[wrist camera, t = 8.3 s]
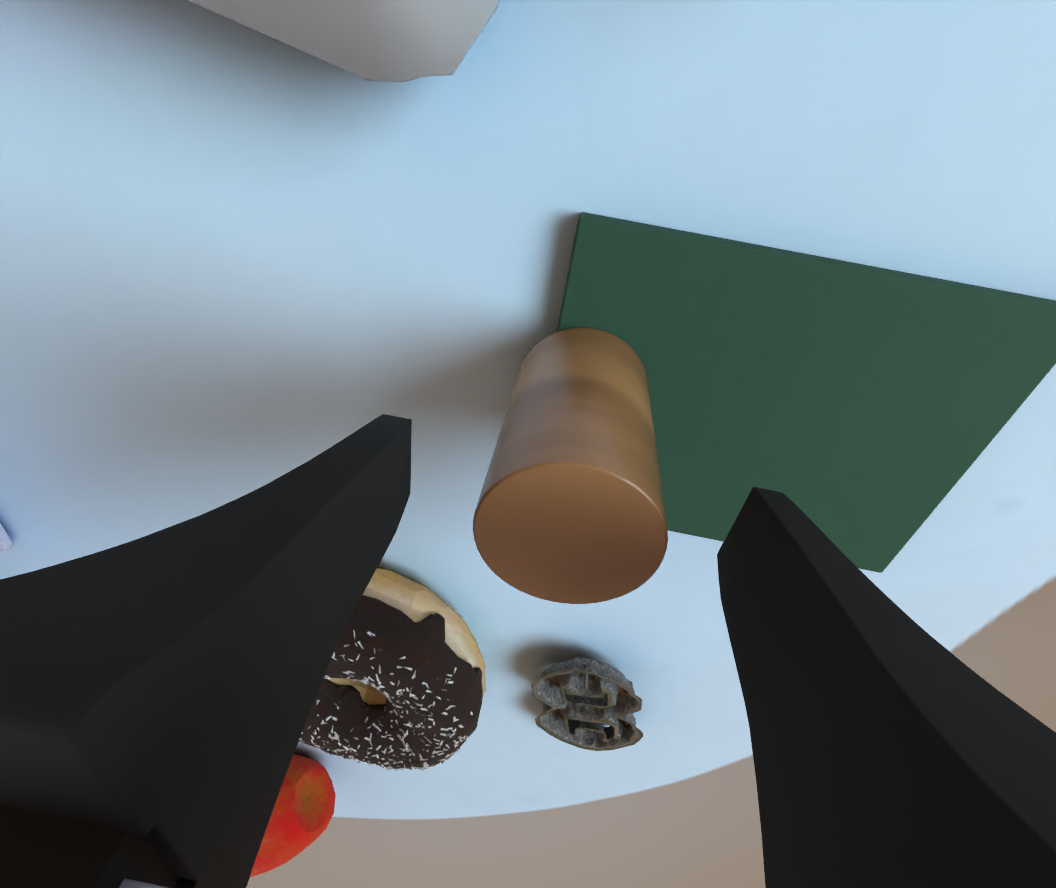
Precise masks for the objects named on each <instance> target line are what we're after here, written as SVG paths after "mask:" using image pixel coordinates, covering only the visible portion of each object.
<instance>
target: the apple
mask: <svg viewBox="0 0 1056 888" xmlns="http://www.w3.org/2000/svg"><path fill="white" fill-rule="evenodd" d="M334 805H335V792H334V788H333V784H332V780H331V778H330V777H329V775H328V773H327V771H326V769H325V768H324V767H323V766H322V765H321V764H320V763H319V762H318V761H315V760H312V759H309V758H306V757H303V756H300V755H298V754H293V757H292V760H291V762H290V765H289V768H288V770H287V773H286V776H285V778H284V781H283V784H282V787H281V789H280V792H279V795H278V797H277V800H276V803H275V806H274V809H273V811H272V814H271V817H270V820H269V823H268V826H267V829H266V831H265V834H264V837H263V840H262V843H261V846H260V848H259V851H258V854H257V857H256V860H255V863H254V866H253V869H252V872H251V875H250V877H252V876H255V875H258V874H261V873H264V872H267V871H269V870H272V869H274V868H276V867H278V866H280V865H282V864H284V863H286V862H287V861H289V860H290V859H292V858H293V857H295V856H296V855H297V854H298V853H300V852H302V851H303V850H304V849H305V848H306V847H307V846H309V845H310V844H311V843H312V842H313V841H315V840H316V839H317V838H318V837H319V836H320V834H321V833H322V832H323V831H324V830H325V829H326V828H327V826H328V824H329V821H330V819H331V817H332V815H333V813H334Z"/></svg>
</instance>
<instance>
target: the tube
mask: <svg viewBox="0 0 1056 888" xmlns="http://www.w3.org/2000/svg"><path fill="white" fill-rule="evenodd" d="M188 1H190V2H193V3H195V4H197V5H199V6H202V7H204V8H206V9H208V10H211V11H213V12H215V13H217V14H220V15H222V16H224V17H226V18H229V19H231V20H233V21H235V22H238V23H240V24H242V25H244V26H247V27H249V28H251V29H254V30H256V31H258V32H260V33H263V34H265V35H267V36H269V37H272V38H274V39H276V40H278V41H281V42H283V43H285V44H287V45H290V46H292V47H294V48H296V49H299V50H301V51H303V52H305V53H308V54H310V55H312V56H314V57H317V58H319V59H321V60H323V61H326V62H328V63H330V64H332V65H335V66H337V67H339V68H341V69H344V70H346V71H348V72H350V73H353V74H355V75H357V76H359V77H362V78H364V79H366V80H369V81H394V82H405V81H409V80H412V79H416V78H419V77H427V76H441V75H453V73H454V72H455V70H456V69H457V67H458V66H459V64H460V63H461V61H462V60H463V58H464V57H465V55H466V54H467V52H468V51H469V49H470V48H471V46H472V45H473V43H474V42H475V40H476V39H477V37H478V36H479V34H480V33H481V32H482V30H483V29H484V27H485V26H486V24H487V23H488V21H489V20H490V18H491V17H492V15H493V14H494V12H495V11H496V9H497V7H498V4H499V2H500V0H188Z"/></svg>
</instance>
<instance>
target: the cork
mask: <svg viewBox="0 0 1056 888" xmlns="http://www.w3.org/2000/svg"><path fill="white" fill-rule="evenodd" d="M473 533H474V539H475V543H476V546H477V549H478V551H479V553H480V555H481V557H482V558H483V560H484V561H485V563H486V564H487V565H488V566H489V567H490V569H491V570H492V571H493V572H494V573H495V574H496V575H497V576H499V577H500V578H501V579H502V580H504V581H505V582H506V583H508V584H509V585H511V586H513V587H514V588H516V589H518V590H520V591H522V592H524V593H527V594H529V595H532V596H534V597H537V598H540V599H544V600H548V601H553V602H560V603H570V604H587V603H597V602H602V601H607V600H611V599H614V598H618V597H620V596H623V595H625V594H627V593H629V592H631V591H633V590H635V589H637V588H638V587H639V586H641V585H642V584H644V583H645V582H646V581H647V580H648V579H649V578H650V577H651V576H652V575H653V574H654V573H655V572H656V570H657V569H658V568H659V566H660V564H661V562H662V560H663V558H664V555H665V552H666V549H667V542H668V533H667V524H666V517H665V509H664V502H663V494H662V487H661V479H660V472H659V464H658V457H657V449H656V442H655V435H654V427H653V420H652V412H651V405H650V397H649V390H648V382H647V376H646V372H645V369H644V366H643V363H642V362H641V360H640V358H639V356H638V355H637V354H636V352H635V351H634V350H633V349H632V348H631V347H630V346H629V345H628V344H627V343H626V342H624V341H623V340H622V339H620V338H618V337H617V336H615V335H613V334H611V333H608V332H606V331H602V330H598V329H593V328H571V329H566V330H562V331H559V332H556V333H553V334H551V335H549V336H548V337H546V338H544V339H543V340H541V341H540V342H539V343H537V344H536V345H535V346H534V347H533V348H532V349H531V350H530V352H529V353H528V354H527V356H526V357H525V359H524V361H523V363H522V365H521V368H520V371H519V374H518V377H517V380H516V384H515V387H514V390H513V393H512V396H511V399H510V402H509V406H508V409H507V412H506V415H505V418H504V421H503V425H502V428H501V431H500V434H499V437H498V440H497V444H496V447H495V450H494V453H493V456H492V459H491V462H490V466H489V469H488V472H487V475H486V478H485V481H484V485H483V488H482V491H481V494H480V497H479V500H478V504H477V507H476V510H475V514H474V519H473Z"/></svg>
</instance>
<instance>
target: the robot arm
mask: <svg viewBox="0 0 1056 888" xmlns="http://www.w3.org/2000/svg"><path fill="white" fill-rule="evenodd" d="M411 424H412V420H411V419H406V418H401V417H395V416H390V415H385V414H383V415H381V416H379V417H378V418H376V419H374V420H373V421H371V422H370V423H368V424H367V425H365V426H363V427H362V428H360V429H359V430H357V431H356V432H354V433H353V434H351V435H350V436H348V437H346V438H345V439H343V440H342V441H340V442H339V443H337V444H335V445H334V446H332V447H331V448H329V449H327V450H326V451H324V452H323V453H321V454H319V455H318V456H316V457H314V458H313V459H311V460H310V461H308V462H306V463H304V464H302V465H301V466H299V467H297V468H295V469H293V470H292V471H290V472H288V473H286V474H284V475H283V476H281V477H279V478H277V479H275V480H274V481H272V482H270V483H268V484H266V485H265V486H263V487H261V488H259V489H257V490H255V491H253V492H251V493H249V494H247V495H244V496H242V497H240V498H238V499H236V500H234V501H232V502H229V503H227V504H225V505H223V506H220V507H218V508H216V509H214V510H212V511H209V512H207V513H205V514H202V515H200V516H197V517H195V518H192V519H190V520H187V521H184V522H182V523H179V524H176V525H174V526H171V527H168V528H166V529H163V530H161V531H158V532H155V533H153V534H150V535H147V536H145V537H142V538H140V539H137V540H134V541H131V542H128V543H125V544H122V545H119V546H116V547H113V548H110V549H107V550H104V551H100V552H97V553H94V554H91V555H87V556H84V557H81V558H78V559H74V560H71V561H68V562H64V563H61V564H58V565H54V566H50V567H47V568H43V569H40V570H36V571H33V572H29V573H25V574H21V575H17V576H13V577H9V578H5V579H1V580H0V888H246V886H247V883H248V880H249V878H250V875H251V872H252V869H253V866H254V863H255V860H256V857H257V854H258V851H259V848H260V846H261V843H262V840H263V837H264V834H265V831H266V829H267V826H268V823H269V820H270V817H271V814H272V811H273V809H274V806H275V803H276V800H277V797H278V795H279V792H280V789H281V787H282V784H283V781H284V778H285V776H286V773H287V770H288V768H289V765H290V762H291V760H292V757H293V754H294V752H295V749H296V746H297V744H298V741H299V738H300V736H301V733H302V731H303V728H304V726H305V723H306V720H307V718H308V715H309V713H310V710H311V708H312V705H313V703H314V700H315V698H316V695H317V693H318V690H319V687H320V685H321V683H322V680H323V678H324V675H325V673H326V671H327V668H328V666H329V663H330V661H331V658H332V656H333V654H334V651H335V649H336V646H337V644H338V642H339V640H340V638H341V635H342V633H343V631H344V629H345V627H346V625H347V623H348V621H349V619H350V617H351V615H352V614H353V612H354V610H355V608H356V606H357V604H358V602H359V601H360V599H361V597H362V595H363V593H364V591H365V589H366V587H367V586H368V584H369V582H370V580H371V578H372V576H373V574H374V573H375V571H376V569H377V567H378V565H379V563H380V561H381V560H382V558H383V556H384V554H385V552H386V550H387V548H388V546H389V544H390V542H391V541H392V539H393V537H394V535H395V533H396V530H397V528H398V525H399V522H400V520H401V517H402V515H403V512H404V509H405V506H406V504H407V501H408V498H409V495H410V481H411ZM12 545H13V543H12V540H11V539H10V537H9V535H8V534H7V532H6V531H5V529H4V527H3V526H2V524H1V523H0V552H5V551H6V550H8V549H9V548H10V547H12ZM717 559H718V574H719V585H720V595H721V601H722V606H723V611H724V615H725V620H726V624H727V628H728V633H729V637H730V641H731V646H732V650H733V654H734V658H735V663H736V667H737V671H738V675H739V680H740V684H741V688H742V692H743V697H744V701H745V706H746V711H747V716H748V721H749V727H750V734H751V742H752V750H753V758H754V765H755V774H756V782H757V792H758V802H759V812H760V821H761V832H762V842H763V858H764V872H765V885H766V888H1056V732H1054V731H1053V730H1051V729H1050V728H1048V727H1047V726H1046V725H1044V724H1043V723H1042V722H1040V721H1039V720H1037V719H1036V718H1035V717H1033V716H1032V715H1030V714H1029V713H1028V712H1027V711H1025V710H1024V709H1023V708H1021V707H1020V706H1018V705H1017V704H1016V703H1014V702H1013V701H1012V700H1010V699H1009V698H1008V697H1006V696H1005V695H1004V694H1002V693H1001V692H999V691H998V690H997V689H995V688H994V687H993V686H992V685H990V684H989V683H988V682H986V681H985V680H984V679H982V678H981V677H980V676H979V675H977V674H976V673H975V672H974V671H972V670H971V669H970V668H969V667H967V666H966V665H965V664H964V663H963V662H961V661H960V660H959V659H958V658H956V657H955V656H954V655H953V654H952V653H950V652H949V651H948V650H947V649H946V648H944V647H943V646H942V645H941V644H940V643H938V642H937V641H936V640H935V639H934V638H932V637H931V636H930V635H929V634H928V633H927V632H925V631H924V630H923V629H922V628H921V627H920V626H919V625H917V624H916V623H915V622H914V621H913V620H912V619H911V618H910V617H909V616H908V615H906V614H905V613H904V612H903V611H902V610H901V609H900V608H899V607H898V606H897V605H896V604H895V603H894V602H892V601H891V600H890V599H889V598H888V597H887V596H886V595H885V594H884V593H883V592H882V591H881V590H880V589H879V588H878V587H877V586H876V585H875V584H873V583H872V582H871V581H870V580H869V579H868V578H867V577H866V576H865V575H864V574H863V573H862V572H861V571H860V570H859V569H858V568H857V567H856V566H855V565H854V564H853V563H852V562H851V561H850V560H849V559H848V558H847V557H846V556H845V555H844V554H843V552H842V551H841V550H840V549H839V548H838V547H837V546H836V545H835V544H834V543H833V542H832V541H831V540H830V539H829V538H828V537H827V536H826V535H825V534H824V533H823V532H822V531H821V530H820V529H819V528H818V527H817V526H816V525H815V523H814V522H813V521H812V520H811V519H810V518H809V517H808V516H807V515H806V514H805V513H804V512H803V511H802V510H801V509H800V508H799V507H798V506H797V505H796V504H795V503H794V502H793V501H792V500H791V499H789V498H788V497H787V496H786V495H785V494H784V493H783V492H778V491H773V490H768V489H763V488H758V487H753V488H752V490H751V492H750V494H749V495H748V497H747V499H746V501H745V503H744V505H743V507H742V509H741V510H740V512H739V514H738V516H737V518H736V520H735V522H734V524H733V526H732V527H731V529H730V531H729V533H728V535H727V537H726V539H725V541H724V542H723V544H722V546H721V548H720V550H719V552H718V554H717Z"/></svg>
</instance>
